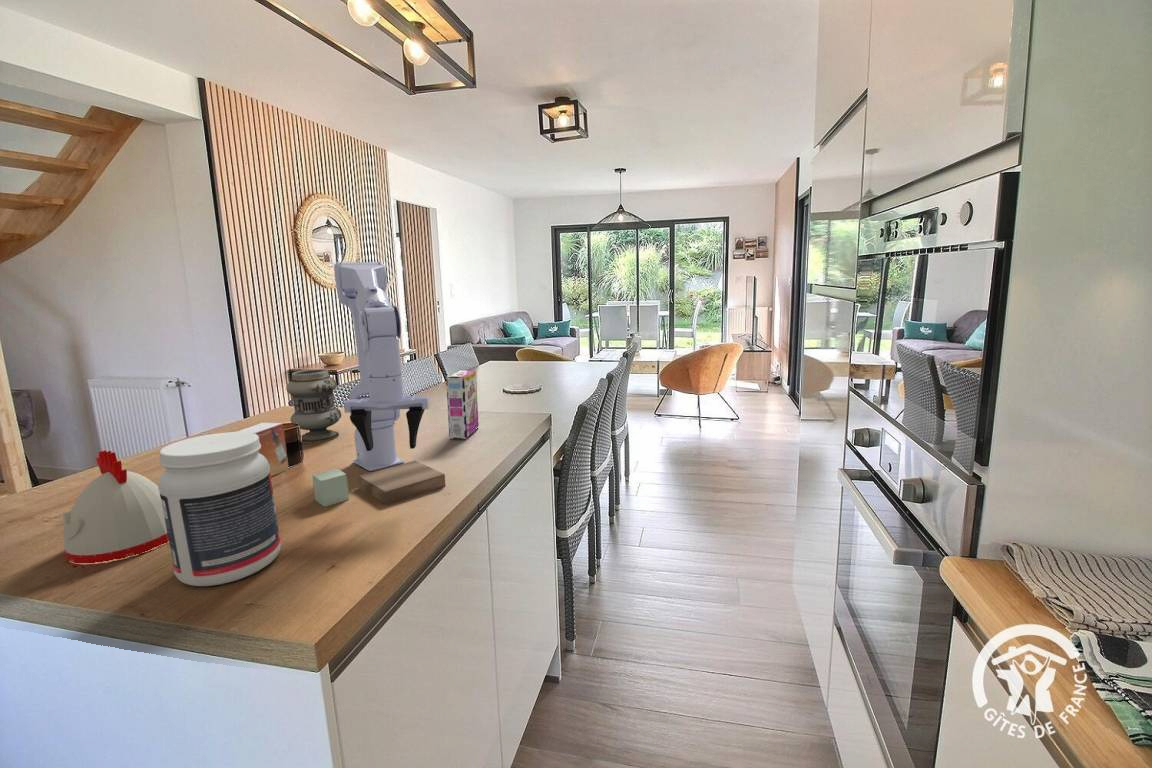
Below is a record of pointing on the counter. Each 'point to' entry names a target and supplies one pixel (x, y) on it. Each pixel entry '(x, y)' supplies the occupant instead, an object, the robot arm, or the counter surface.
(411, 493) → the walnut slab
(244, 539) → the supplement tub
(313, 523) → the counter surface
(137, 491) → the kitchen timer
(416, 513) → the counter surface
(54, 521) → the counter surface
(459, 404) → the candy bar box
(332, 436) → the ornate stone vase
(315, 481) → the sage block
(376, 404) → the robot arm
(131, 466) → the counter surface
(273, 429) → the small box
